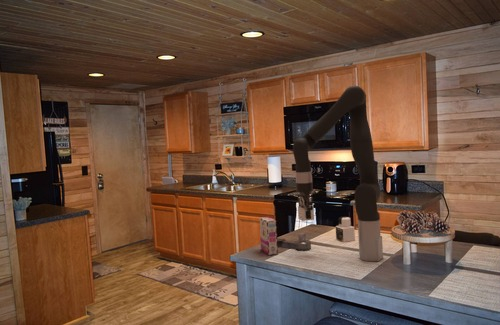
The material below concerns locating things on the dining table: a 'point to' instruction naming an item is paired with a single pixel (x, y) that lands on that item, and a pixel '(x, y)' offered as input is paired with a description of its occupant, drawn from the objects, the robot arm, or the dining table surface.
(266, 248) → the candy bar box
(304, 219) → the socket
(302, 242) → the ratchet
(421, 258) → the dining table surface
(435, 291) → the dining table surface
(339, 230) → the medicine bottle
